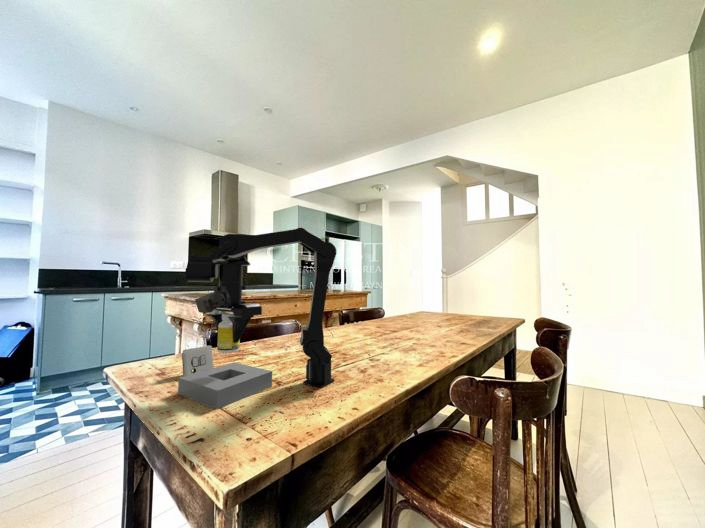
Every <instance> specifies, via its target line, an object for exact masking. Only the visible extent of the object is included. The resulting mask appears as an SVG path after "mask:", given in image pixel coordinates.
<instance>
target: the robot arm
mask: <svg viewBox="0 0 705 528" xmlns="http://www.w3.org/2000/svg"><path fill="white" fill-rule="evenodd" d="M294 244H295V245H296V244H298V245H299V244H300V246H302V247H303V248H304V249H306V250H307V251H308V252H309V253H311V254H312V255H313V265H314V281H313V287H312V295H311V302H310V310H309V317H308V322H307V323H306V326H301V333H300V334H301V335H300V338H299V340H298V341H299V343H300V346H301V348H302V351H303V353H304V354H305V355H306V356H307V357H308V358H307V359H306V362H307V363H306V364H305V380H303V381H302V382H303V383H302V384H304V385H309V386H312V387H317V388H324V387H325V386H327V385H329V384H331V383H333V382H335V378H332V358H333V356H332V354H331V352H330V351H329V349H328V348H327V347H326V346H325V342H324V341H325V339H324V336H325V335H324V326H323V322H324V314H325V305H326V299H327V291H328V285H329V284H328V283H329V275H330V273H331V271H332V268H333V265H334V263H335V259H336V255H337V248H336V246H335V245H334V244H333V243H332V242H331V241H324V240H323V239H321V238H319V237H318V236H316V235H314V234H312V233H311V232H310V231H307V229H305V227H304V228H303V227H297V228H293V229H287V230H281V231H274V232H269V233H261V234H251V235H250V234H244V233H241V234H240V233H228V234H224V235H222V236H221V238H220V239H219V241H218V245H217V247H216V248H215V249H214V251H213V252H211V253H210V255H209V256H198V255H190V256H189V259H188V261H187V264H186V267H185V272H184V273H185V279H186V281H187V283H213V281H214V279H217V278H218V285H215V287H214V288H213V292H209V293H207V294H205V295H201V296H200V297H198V298H196V299H194V303H195V304H196V305H195V306H196V307H197V308H196V309H197V310H198V312H199V314H200V313H201V314H202V313H203V314H206V317H209V318H210V319H211V320H212V321H213V322H214V325H215V328H216V332H217V333H218V325H219V323H220V322H222V321H223V320H222V314H223V313H233V314H234V316H231V317H228V318H229V319H230V320H231V322H232V326H233V341H234V343H237V342H238V341H239V339H240V340H241V337H242V336H243V334H244V332H245V330H246V328H247V326H248V324H249V323H250V321H251V320H252V318H254V317H255V316H260V315H262V314H263V307H262V306H261V304H260V303H254V302H251V303H250V302H249V303H246V301H245V300H243V290H246V285H243V270H244V268H243V267H245V266H247V267H249V266H251V263H250V262H249V261H248V260H247V258H246V256H245V255H248V254H250V253H253V252H255V251H258V250H264V249H269V248H270V249H271V248H275V247H281V246H287V245H294ZM241 256H242V257H241ZM238 257H241V258H238ZM226 261H227V262H226Z"/></svg>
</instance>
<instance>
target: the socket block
mask: <svg viewBox="0 0 705 528" xmlns="http://www.w3.org/2000/svg"><path fill="white" fill-rule="evenodd" d="M177 385H178V386H177V395H179V396H182V397H184V398H186V399H190V400H193V401H194V402H197V403H200V404H202V405H204V406H207V407H211V408H212V409H216V410H219V409H221V408H224V407H226V406H229V405H231V404H234V403H235V402H238V401H241V400H243V399H246V398H248V397H250V396H252V395H255V394H258V393H259V392H262V391H264V390H267V389H269V388H271V387H273V370H269V369H264V368H260V367H256V366H251V365H247V364H242V363H239V362H230V363H227V364H223V365H220V366H216V367H214V368H212V369H209V370H205V371H201V372H198V373H194V374H191V375H187V376H181V377H178V382H177Z"/></svg>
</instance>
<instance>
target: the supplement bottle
mask: <svg viewBox="0 0 705 528" xmlns="http://www.w3.org/2000/svg"><path fill="white" fill-rule="evenodd" d="M231 316H234V314H233V312H226V313H223V314H222V320H223V321H222V322H220V323H219V325H218V332H217V347H216V350H217V352H218V353H219V354H233V353H236V352H238V351H239V350H240V349H241V348H240V346H241V345H240V343H241V342H240V341H241V338H240V339H239V341H238V342H237V343H234V341H233V326H232V322H231V320H230V319H229V318H228V317H231Z"/></svg>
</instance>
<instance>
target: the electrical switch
mask: <svg viewBox="0 0 705 528" xmlns="http://www.w3.org/2000/svg"><path fill="white" fill-rule="evenodd" d="M213 356H214V354H213V346H212V345H204V346H198V347H194V348H193V347H192V348H191V347H190V348H188V349H187V348H186V349H183V350H182V353H181V360H182V361H181V362H182V374H183V375H182V377H184V376H187V375H191V374H194V373H198V372H201V371H205V370H209V369H212V368H215V367H214V357H213Z"/></svg>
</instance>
